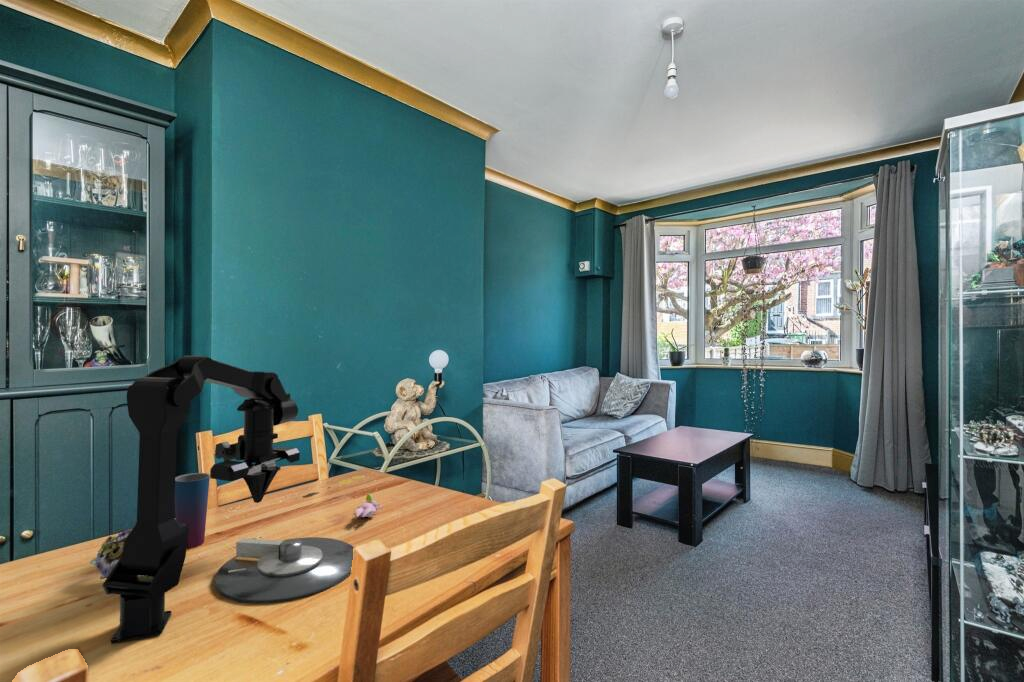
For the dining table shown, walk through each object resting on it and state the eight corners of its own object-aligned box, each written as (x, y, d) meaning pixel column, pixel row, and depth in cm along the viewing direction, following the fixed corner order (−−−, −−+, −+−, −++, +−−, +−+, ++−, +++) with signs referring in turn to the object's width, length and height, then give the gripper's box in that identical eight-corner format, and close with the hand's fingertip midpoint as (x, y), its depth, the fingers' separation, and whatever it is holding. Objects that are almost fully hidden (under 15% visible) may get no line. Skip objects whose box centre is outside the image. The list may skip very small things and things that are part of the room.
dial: (332, 550, 104) (333, 533, 104) (303, 578, 92) (304, 558, 92) (257, 546, 106) (257, 528, 106) (219, 572, 94) (219, 552, 94)
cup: (191, 552, 105) (192, 482, 105) (164, 548, 107) (165, 480, 107) (216, 539, 112) (217, 474, 112) (190, 536, 113) (191, 471, 113)
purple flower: (361, 512, 135) (346, 523, 120) (362, 490, 136) (348, 498, 121) (384, 512, 135) (372, 523, 121) (385, 490, 136) (373, 498, 122)
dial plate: (363, 587, 92) (364, 581, 92) (202, 615, 82) (202, 608, 82) (352, 535, 116) (353, 530, 116) (227, 551, 106) (227, 546, 106)
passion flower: (109, 614, 91) (69, 563, 90) (160, 576, 102) (125, 530, 101) (147, 589, 88) (105, 536, 88) (195, 552, 99) (158, 504, 98)
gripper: (263, 420, 117) (262, 485, 117) (190, 434, 99) (189, 511, 99) (301, 424, 113) (300, 491, 113) (232, 439, 95) (231, 519, 95)
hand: (257, 502), depth 105 cm, fingers closed
